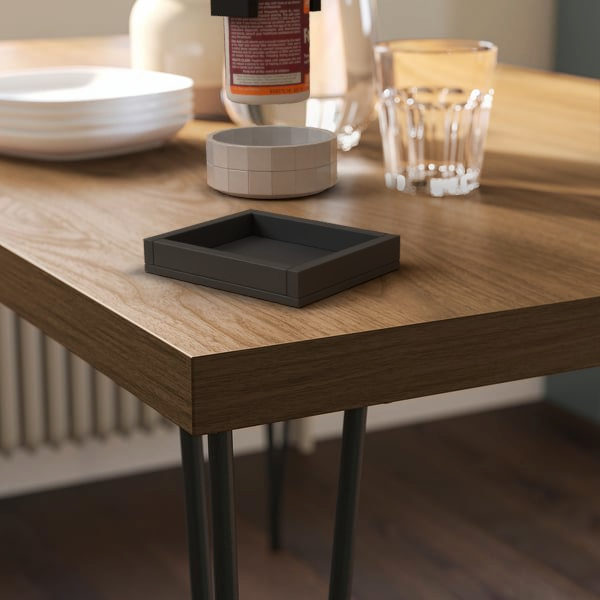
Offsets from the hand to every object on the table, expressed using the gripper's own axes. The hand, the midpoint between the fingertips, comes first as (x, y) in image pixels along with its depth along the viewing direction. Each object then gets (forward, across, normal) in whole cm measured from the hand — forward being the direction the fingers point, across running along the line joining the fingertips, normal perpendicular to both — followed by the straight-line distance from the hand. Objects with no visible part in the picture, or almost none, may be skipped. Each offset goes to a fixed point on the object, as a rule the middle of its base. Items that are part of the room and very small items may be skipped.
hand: (267, 12), depth 65 cm
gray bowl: (+15, -18, -15) cm, 28 cm away
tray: (+15, 0, 0) cm, 15 cm away
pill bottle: (+5, 0, 0) cm, 5 cm away
